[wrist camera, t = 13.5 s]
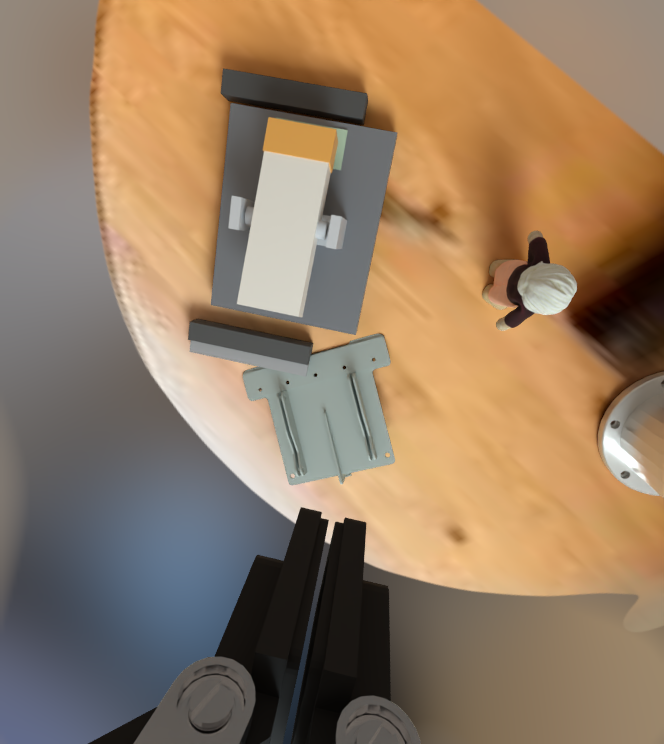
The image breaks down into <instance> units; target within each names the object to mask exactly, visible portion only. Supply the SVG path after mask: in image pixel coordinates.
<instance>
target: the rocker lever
mask: <svg viewBox="0 0 664 744" xmlns="http://www.w3.org/2000/svg"><path fill="white" fill-rule="evenodd" d="M337 146H338V137H337V130H336V129H332V128H326V127H321V126H315V125H310V124H304V123H299V122H293V121H287V120H282V119H276V118H271V117H268V123H267V128H266V134H265V140H264V145H263V152H264V155H263V160H262V166H261V172H260V177H259V183H258V188H257V194H256V200H255V205H254V207H250V206H248V207H247V209H246V212H245V223H246V225H250V226H251V227H250V233H249V239H248V244H247V250H246V255H245V261H244V266H243V272H242V278H241V283H240V289H239V294H238V300H237V304H239V305H244V306H249V307H253V308H258V309H263V310H268V311H273V312H278V313H282V314H287V315H292V316H297V317H303V312H304V307H305V302H306V296H307V291H308V286H309V281H310V276H311V271H312V266H313V261H314V256H315V251H316V246H317V240H318V239H322V240H325V239H326V236H327V232H328V221H322V215H323V210H324V205H325V200H326V195H327V190H328V185H329V179H330V174H331V173H332V172H333V167H334V161H335V156H336V151H337Z"/></svg>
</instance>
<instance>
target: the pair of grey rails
mask: <svg viewBox="0 0 664 744" xmlns="http://www.w3.org/2000/svg"><path fill="white" fill-rule="evenodd" d="M221 94H222V95H223V96H224V97H225V98H226V99H227V100H228V101H234V102H239V103H245V104H250V105H256V106H262V107H267V108H273V109H278V110H284V111H290V112H295V113H301V114H307V115H312V116H318V117H323V118H329V119H335V120H340V121H346V122H351V123H357V124H363V125H364V120H365V114H366V109H367V104H368V96H367V93H361V92H355V91H349V90H344V89H338V88H332V87H326V86H321V85H315V84H309V83H303V82H298V81H292V80H286V79H280V78H275V77H269V76H263V75H257V74H252V73H246V72H240V71H234V70H229V69H223V75H222V86H221ZM188 340H191V343H190V352H193V353H198V354H203V355H207V356H212V357H217V358H221V359H226V360H231V361H235V362H240V363H245V364H249V365H254V366H259V367H263V368H268V369H273V370H277V371H282V372H286V373H291V374H296V375H300V376H305V377H306V376H307V371H308V366H309V361H310V357H311V353H312V347H313V343H310V342H306V341H301V340H296V339H291V338H287V337H282V336H277V335H272V334H268V333H263V332H258V331H253V330H249V329H244V328H239V327H234V326H229V325H225V324H220V323H215V322H210V321H206V320H201V319H196V320H193V321H191V322H190V325H189V337H188Z"/></svg>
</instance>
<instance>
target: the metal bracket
mask: <svg viewBox="0 0 664 744" xmlns="http://www.w3.org/2000/svg"><path fill="white" fill-rule="evenodd" d="M372 358H375V359H376V360H375V361H374V362H373V361H372ZM390 363H391V362H390V357H389V354H388V350H387V346H386V342H385V338H384V336H383V335H382V334H374V335H370V336H367V337H363V338H360V339H356V340H352V341H350V343H349V344H348V345H344V346H341V347H337V348H334V349H330V350H326V351H323V352H319V353H315V354H312V355H311V357H310V361H309V366H308V371H307V376H306V377H305V376H300V375H296V374H291V373H286V372H282V371H277V370H273V369H268V368H263V367H256V368H252V369H249V370H246V371H245V372H244V373H243V380H244V384H245V388H246V392H247V396H248V398H249V400H251V401H254V400H258V399H262V398H267V399H268V402H269V406H270V410H271V414H272V418H273V422H274V426H275V430H276V434H277V438H278V442H279V446H280V450H281V454H282V458H283V462H284V466H285V470H286V474H287V478H288V482H289V484H290V485H296V484H301V483H305V482H310V481H315V480H319V479H324V478H329V477H333V476H339V481H340V484H343V482H344V479H345V477H348V476H351V475H352V474H351V473H352V472H356V471H361V470H366V469H370V468H375V467H380V466H384V465H389V464H393V463H394V462H395V458H394V454H393V450H392V446H391V442H390V438H389V434H388V431H387V427H386V423H385V419H384V415H383V411H382V408H381V404H380V400H379V396H378V392H377V388H376V385H375V381H374V377H373V370H374V369H377V368H381V367H385V366H388V365H390ZM343 366H346V369H343ZM315 373H316V374H317V377H315V376H314V374H315ZM286 381H289V384H287V383H286ZM259 388H262V391H261V392H260V391H259ZM385 453H390V457H389V458H388V457H386V456H385ZM291 474H294V475H295V478H291Z"/></svg>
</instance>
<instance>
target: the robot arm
mask: <svg viewBox="0 0 664 744" xmlns="http://www.w3.org/2000/svg"><path fill="white" fill-rule="evenodd" d="M598 448H599V452H600V456H601V458H602V460H603V462H604V464H605V466H606V467H607V468H608V470H609V471H610V472H611V473H612V474H613V475H614V476H615V477H616V478H617V479H618V480H619V481H620V482H621V483H623V484H625V485H626V486H628V487H629V488H631V489H634V490H636V491H638V492H641V493H645V494H650V495H656V496H661V497H663V498H664V371H663V372H660V373H656V374H653V375H650V376H647V377H645V378H643V379H641V380H639V381H637V382H635V383H634V384H632V385H631V386H629V387H628V388H626V389H625V390H623V391H622V392H621V393H620V394H619V395H618V396H617V397H616V398H615V399H614V400H613V402H612V403H611V404H610V406H609V407H608V409H607V410H606V412H605V414H604V416H603V418H602V420H601V423H600V427H599V431H598ZM321 514H322V512H319V511H315V510H310V509H306V508H302V507H301V509H300V512H299V515H298V518H297V521H296V524H295V527H294V531H293V534H292V537H291V540H290V543H289V546H288V550H287V553H286V556H285V559H284V561H281V560H277V559H273V558H268V557H264V556H260V555H257V556H256V558H255V560H254V562H253V565H252V567H251V569H250V572H249V574H248V577H247V579H246V582H245V584H244V586H243V589H242V591H241V594H240V596H239V598H238V601H237V604H236V606H235V608H234V611H233V613H232V615H231V618H230V620H229V623H228V626H227V628H226V630H225V633H224V635H223V637H222V640H221V642H220V645H219V647H218V649H217V652H216V654H215V657H208V658H205V659H202V660H200V661H197V662H195V663H193V664H192V665H190V666H189V667H187V668H186V669H184V671H183V672H182V673H181V674H180V675H179V676H178V677H177V679H176V680H175V681H174V683H173V684H172V686H171V687H170V689H169V690H168V692H167V693H166V695H165V696H164V698H163V699H162V701H161V702H160V704H159V706H158V707H156V708H154V709H152V710H150V711H148V712H147V713H145V714H143V715H141V716H139V717H137V718H135V719H134V720H132V721H130V722H128V723H126V724H124V725H122V726H120V727H119V728H117V729H115V730H113V731H111V732H109V733H107V734H105V735H103V736H102V737H100V738H98V739H96V740H94V741H92V742H90V743H88V744H282V743H283V739H284V734H285V730H286V725H287V720H288V716H289V711H290V706H291V702H292V697H293V693H294V688H295V684H296V679H297V675H298V670H299V665H300V660H301V655H302V650H303V646H304V641H305V636H306V631H307V626H308V621H309V616H310V611H311V606H312V601H313V596H314V591H315V586H316V581H317V576H318V571H319V566H320V561H321V556H322V551H323V546H324V541H325V536H326V531H327V526H328V521H329V520H327V519H322V518H321ZM365 536H366V522H362V521H358V520H353V519H349V518H345V519H344V523H339V522H335V526H334V530H333V535H332V539H331V544H330V548H329V553H328V557H327V562H326V566H325V571H324V575H323V580H322V585H321V589H320V593H319V598H318V602H317V607H316V612H315V617H314V622H313V627H312V633H311V638H310V644H309V649H308V654H307V659H306V665H305V670H304V675H303V681H302V686H301V692H300V697H299V703H298V707H297V713H296V718H295V723H294V729H293V735H292V740H291V744H421V742H420V739H419V736H418V733H417V730H416V728H415V727H414V725H413V723H412V722H411V720H410V718H409V717H408V716H407V715H406V714H405V713H404V712H403V711H402V710H401V709H400V708H399V707H398V706H397V705H395V704H394V703H392V702H391V701H390V700H391V699H390V632H389V589H388V586H385V585H381V584H377V583H373V582H368V581H364V580H363V568H364V552H365Z"/></svg>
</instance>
